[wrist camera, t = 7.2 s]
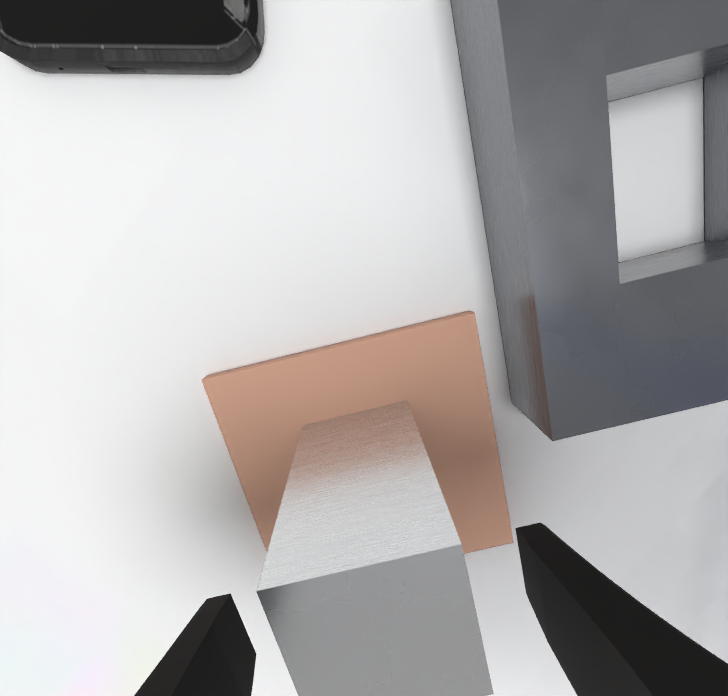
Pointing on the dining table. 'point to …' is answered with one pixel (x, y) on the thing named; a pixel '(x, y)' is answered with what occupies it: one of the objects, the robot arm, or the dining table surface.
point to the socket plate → (594, 206)
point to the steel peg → (370, 567)
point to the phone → (133, 35)
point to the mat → (366, 391)
